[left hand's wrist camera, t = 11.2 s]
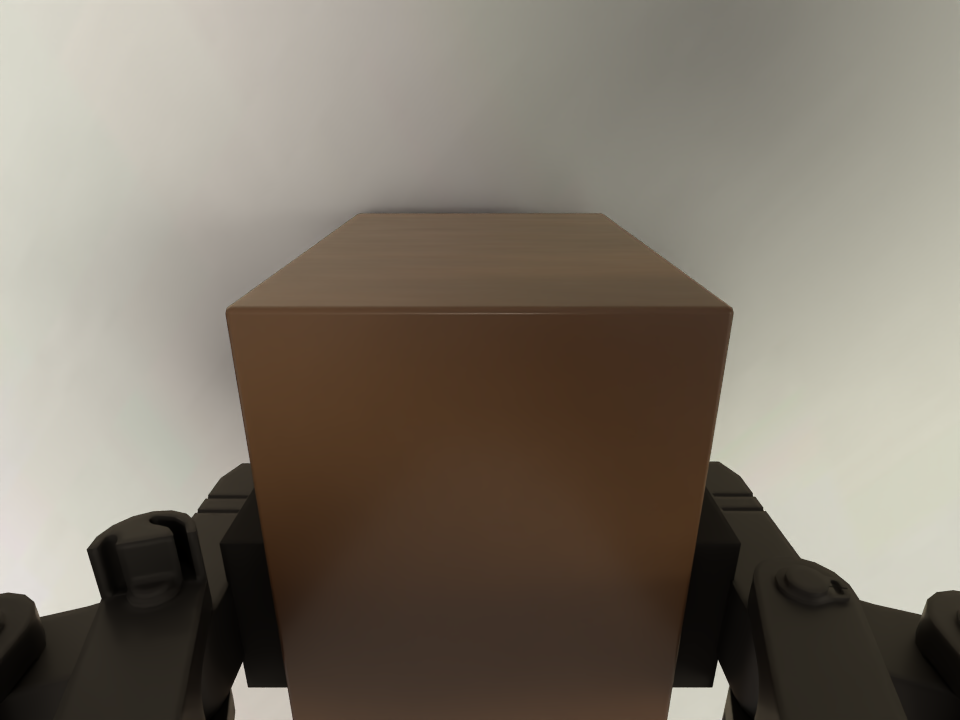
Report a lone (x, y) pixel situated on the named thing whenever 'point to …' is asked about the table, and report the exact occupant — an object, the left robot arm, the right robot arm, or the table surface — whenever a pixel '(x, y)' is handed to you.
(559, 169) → the table surface
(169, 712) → the left robot arm
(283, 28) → the table surface
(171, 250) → the table surface
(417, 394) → the post
